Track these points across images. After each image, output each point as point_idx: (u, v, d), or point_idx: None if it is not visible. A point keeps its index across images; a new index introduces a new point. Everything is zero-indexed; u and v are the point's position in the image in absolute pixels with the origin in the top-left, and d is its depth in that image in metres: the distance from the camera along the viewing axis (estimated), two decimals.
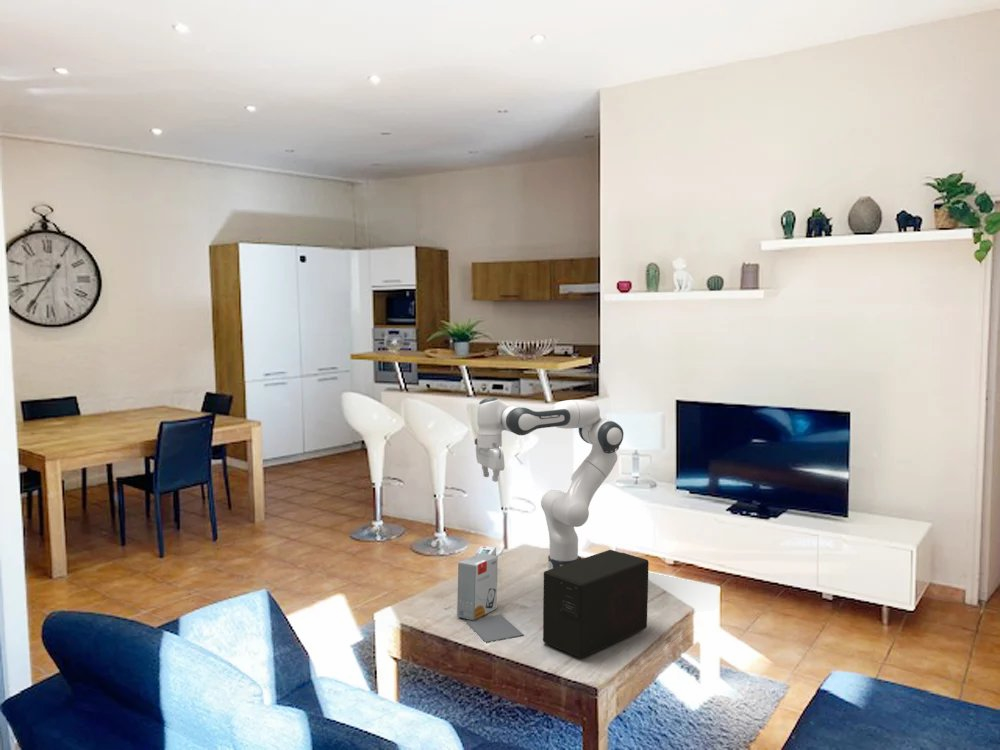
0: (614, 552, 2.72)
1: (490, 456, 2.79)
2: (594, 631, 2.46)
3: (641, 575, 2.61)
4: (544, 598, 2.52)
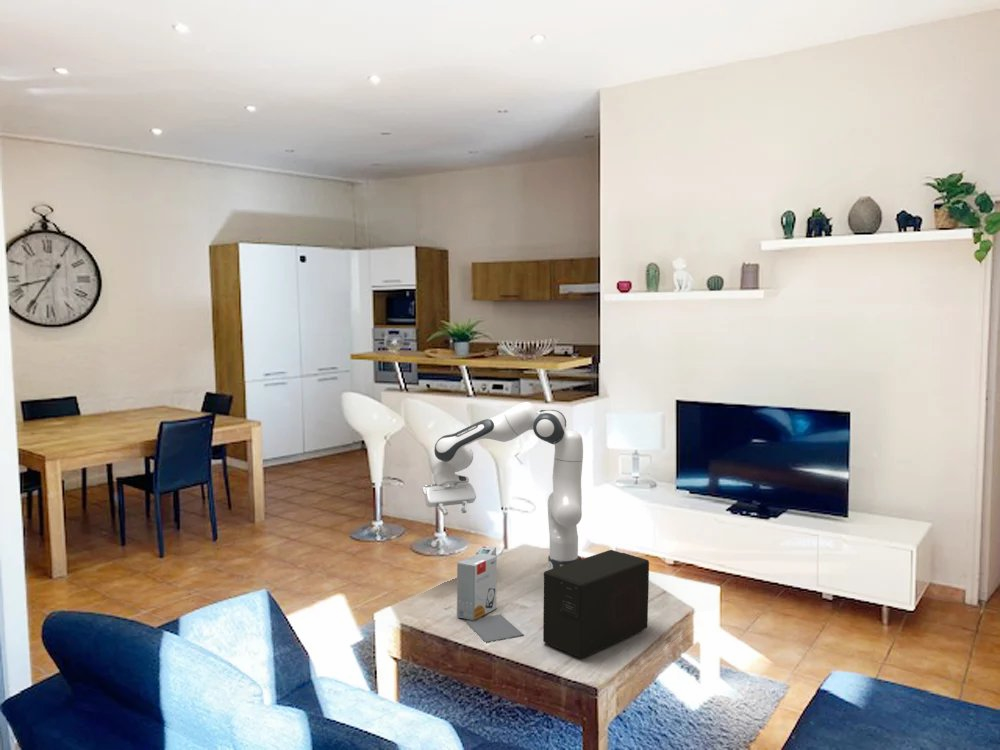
0: (615, 552, 2.72)
1: None
2: (594, 631, 2.46)
3: (642, 575, 2.61)
4: (544, 598, 2.52)
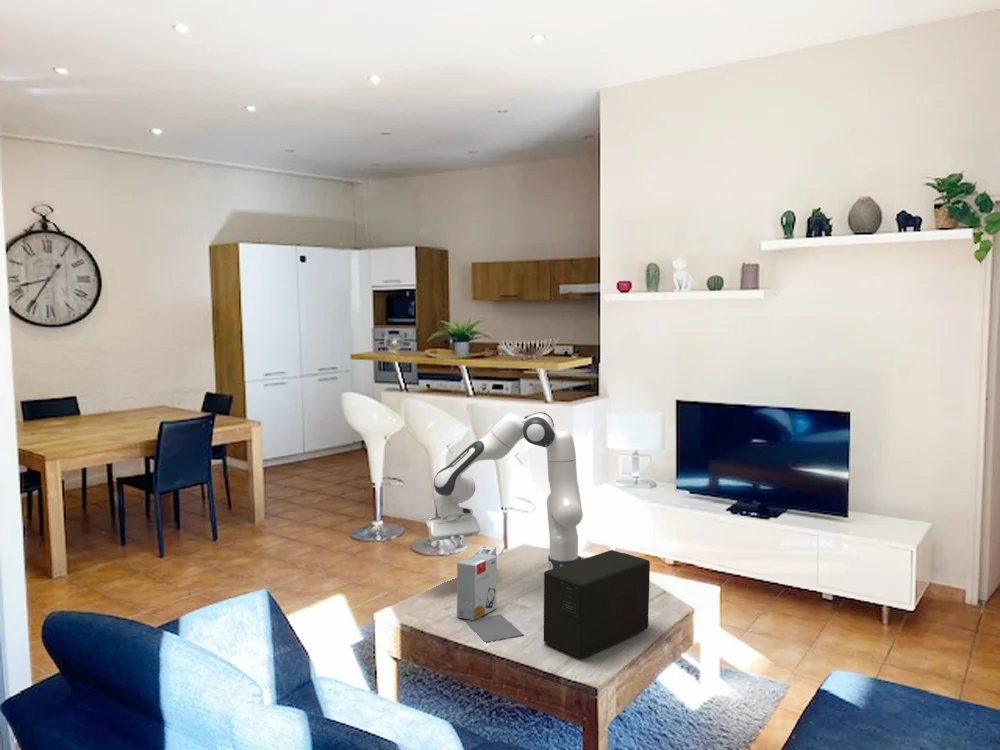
0: (615, 552, 2.71)
1: None
2: (594, 631, 2.45)
3: (642, 576, 2.61)
4: (544, 598, 2.52)
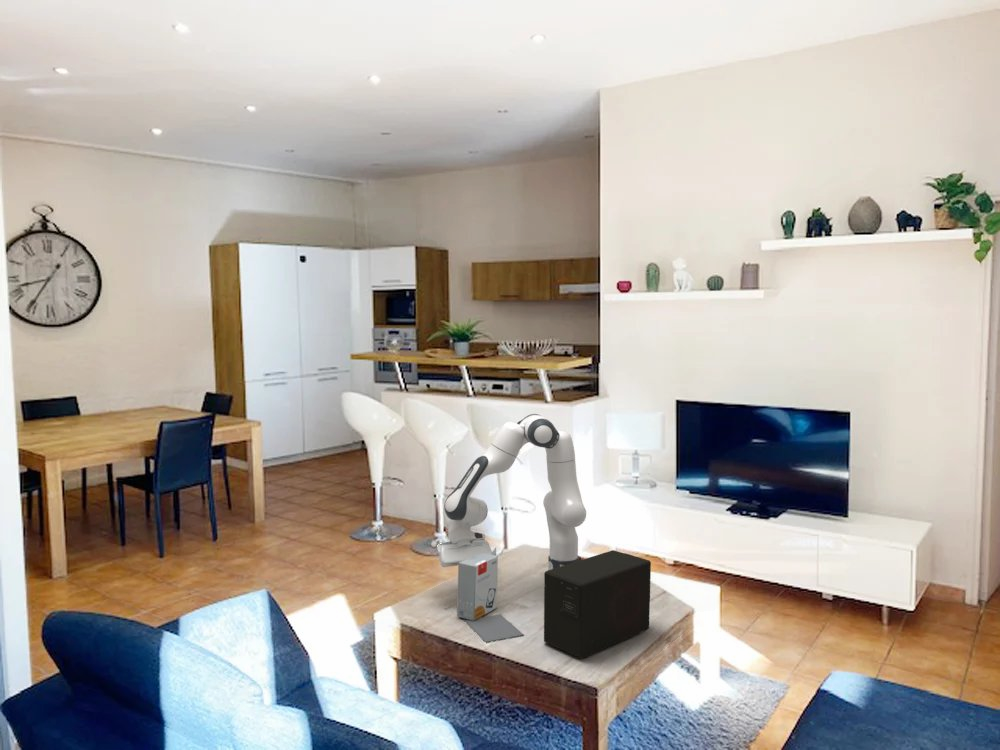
0: (617, 553, 2.71)
1: None
2: (594, 632, 2.45)
3: (643, 576, 2.60)
4: (545, 598, 2.52)
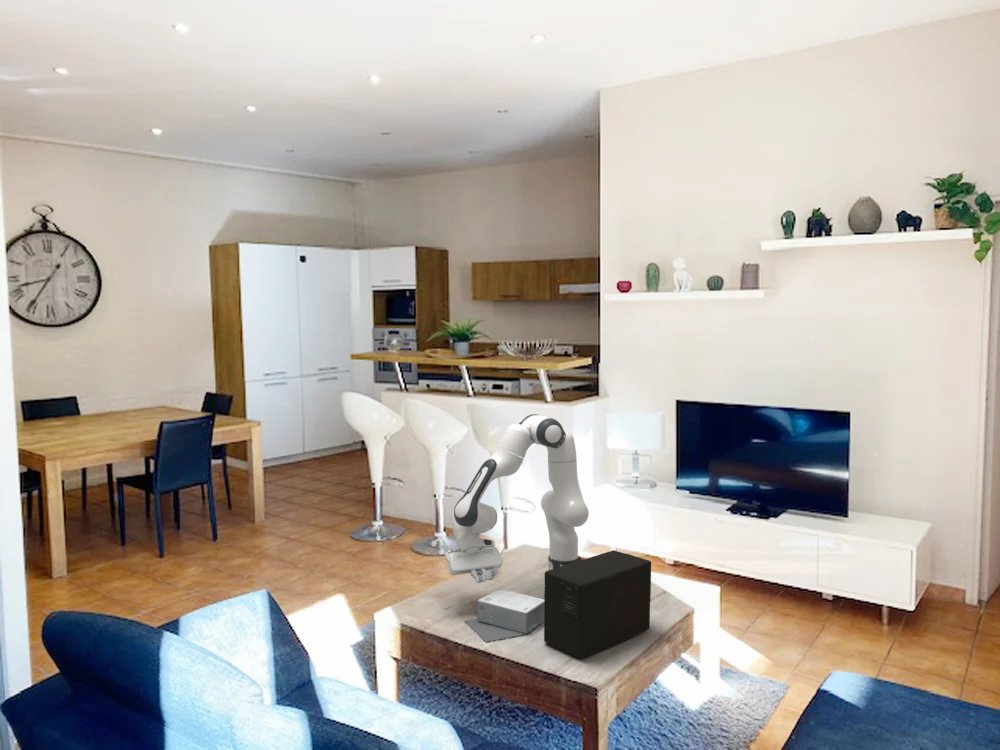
0: (617, 553, 2.71)
1: None
2: (595, 632, 2.45)
3: (644, 576, 2.60)
4: (545, 598, 2.52)
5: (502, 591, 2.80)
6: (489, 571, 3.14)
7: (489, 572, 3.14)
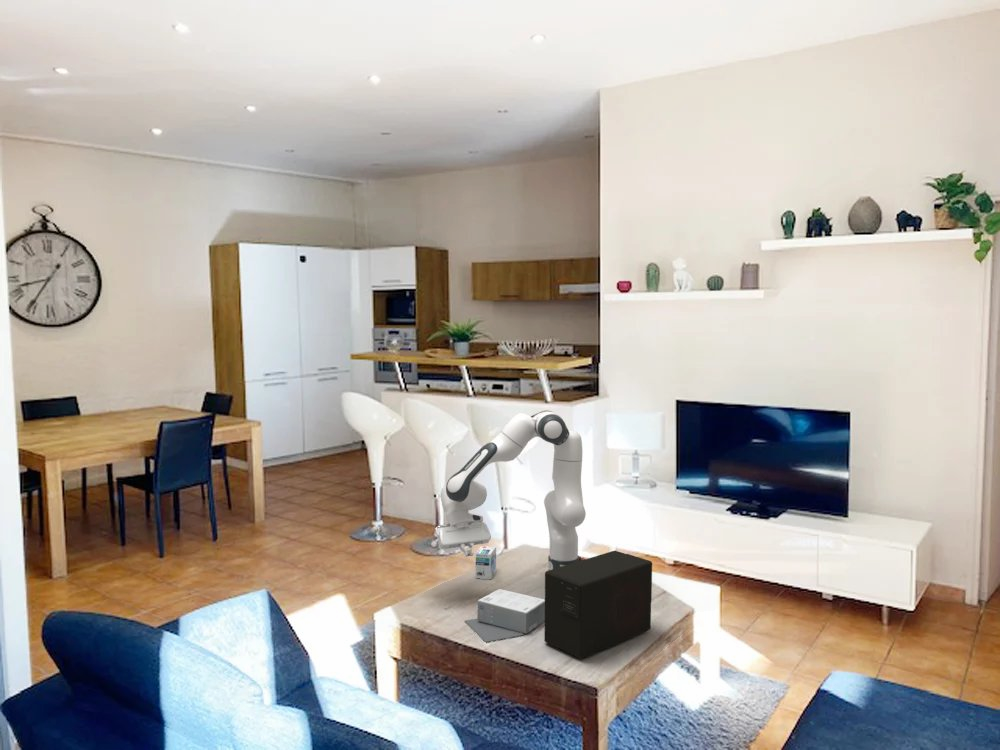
0: (618, 553, 2.71)
1: None
2: (595, 632, 2.45)
3: (644, 576, 2.60)
4: (545, 598, 2.52)
5: (502, 591, 2.80)
6: (489, 571, 3.14)
7: (489, 572, 3.14)
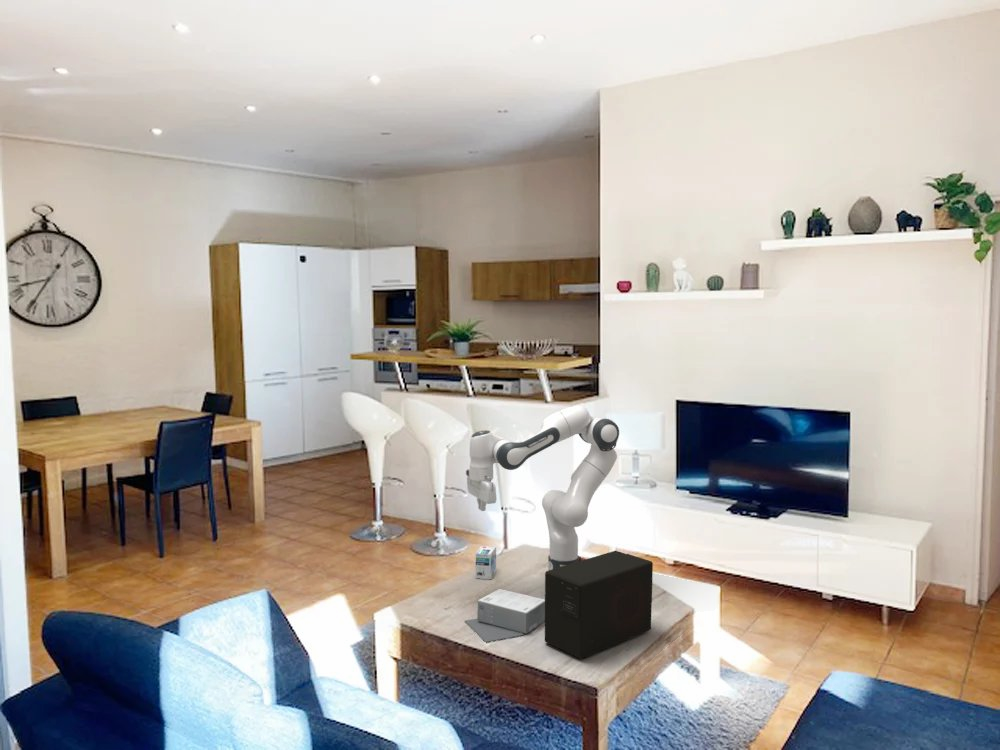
0: (619, 553, 2.71)
1: (482, 488, 2.85)
2: (595, 632, 2.45)
3: (645, 577, 2.60)
4: (545, 598, 2.52)
5: (502, 591, 2.80)
6: (489, 571, 3.14)
7: (489, 572, 3.14)
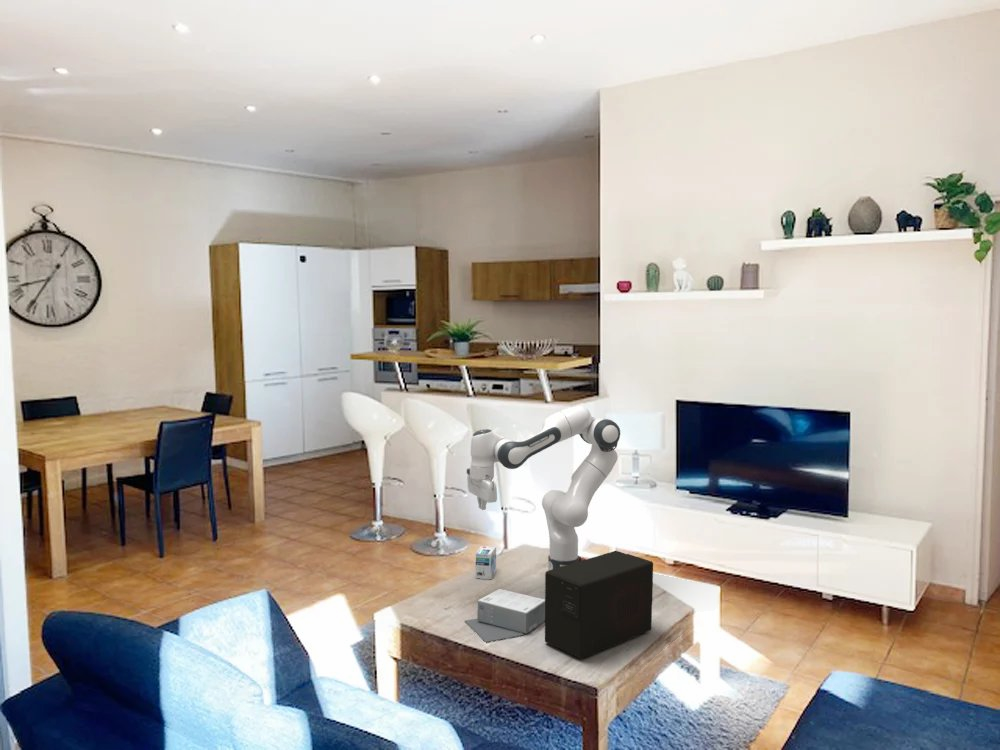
0: (619, 553, 2.70)
1: (483, 487, 2.85)
2: (595, 632, 2.45)
3: (645, 577, 2.60)
4: (546, 598, 2.52)
5: (502, 591, 2.80)
6: (489, 571, 3.14)
7: (489, 572, 3.14)
